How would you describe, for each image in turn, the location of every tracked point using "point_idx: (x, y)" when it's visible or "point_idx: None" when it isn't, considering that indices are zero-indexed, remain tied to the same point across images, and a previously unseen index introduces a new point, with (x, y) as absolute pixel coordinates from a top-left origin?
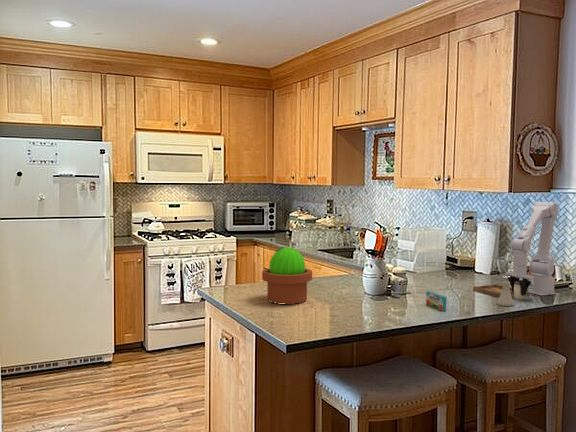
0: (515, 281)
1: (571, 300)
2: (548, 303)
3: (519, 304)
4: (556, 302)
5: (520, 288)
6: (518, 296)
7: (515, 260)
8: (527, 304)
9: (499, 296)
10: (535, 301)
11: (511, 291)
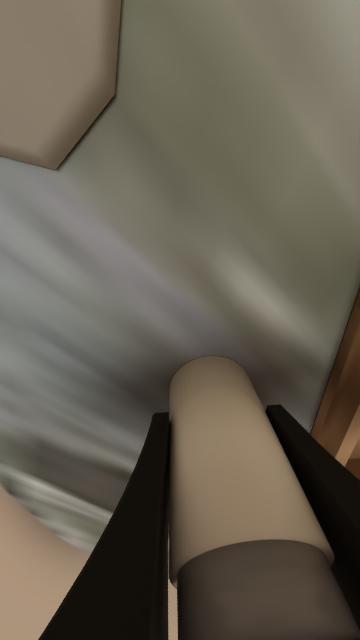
0: (327, 636)
1: (87, 551)
2: (33, 461)
3: (3, 244)
4: (55, 499)
5: (179, 489)
6: (185, 387)
7: None
8: (3, 322)
9: (357, 297)
10: (100, 432)
11: (339, 438)
